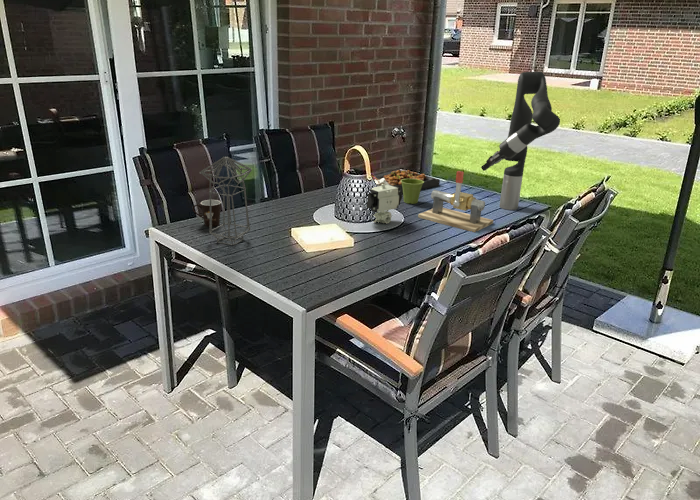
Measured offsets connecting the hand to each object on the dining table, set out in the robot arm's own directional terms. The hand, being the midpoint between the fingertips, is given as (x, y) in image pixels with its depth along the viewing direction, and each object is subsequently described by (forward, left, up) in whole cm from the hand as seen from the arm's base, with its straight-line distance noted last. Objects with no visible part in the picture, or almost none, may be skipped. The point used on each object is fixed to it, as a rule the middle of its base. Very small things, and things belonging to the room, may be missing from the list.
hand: (482, 168), depth 237 cm
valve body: (-5, -14, -26) cm, 30 cm away
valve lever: (0, -11, -20) cm, 22 cm away
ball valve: (+21, -37, -28) cm, 51 cm away
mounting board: (-6, -14, -28) cm, 32 cm away
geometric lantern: (+86, -66, -28) cm, 112 cm away
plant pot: (-16, -46, -28) cm, 56 cm away
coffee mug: (+78, -90, -28) cm, 122 cm away
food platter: (-37, -69, -29) cm, 84 cm away
